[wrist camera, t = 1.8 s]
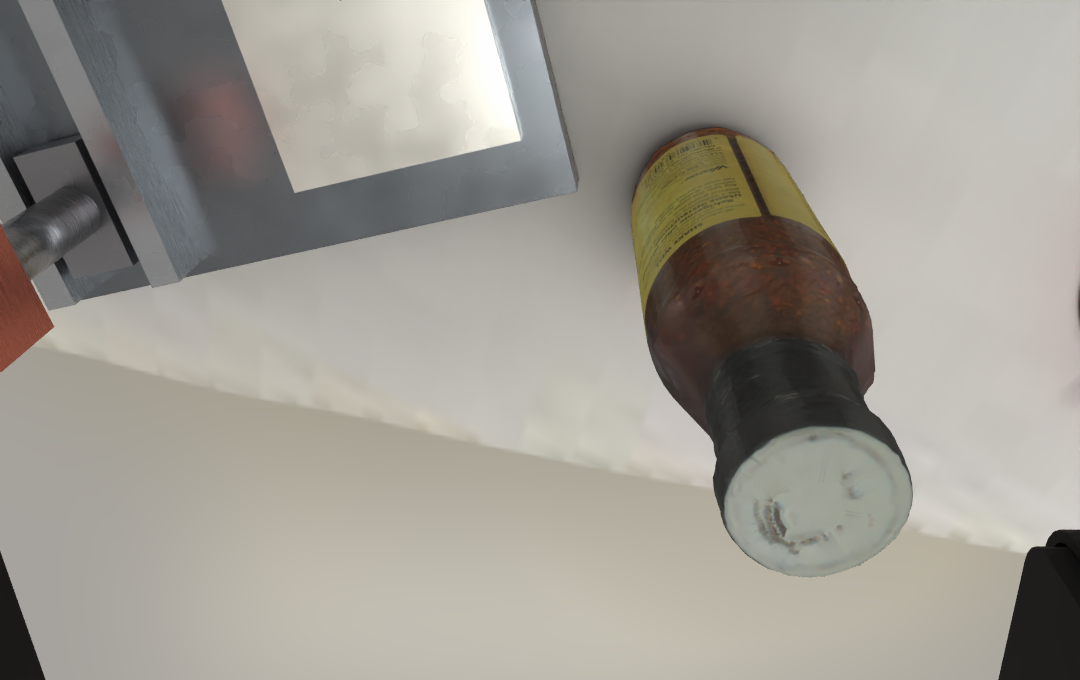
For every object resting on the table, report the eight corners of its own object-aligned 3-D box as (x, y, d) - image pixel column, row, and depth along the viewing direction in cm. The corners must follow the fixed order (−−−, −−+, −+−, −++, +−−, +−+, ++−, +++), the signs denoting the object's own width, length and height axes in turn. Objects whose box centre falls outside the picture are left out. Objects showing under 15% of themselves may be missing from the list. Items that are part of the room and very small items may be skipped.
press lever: (112, 125, 37) (-78, 231, 27) (166, 246, 39) (9, 386, 29) (20, 149, 37) (-199, 261, 27) (78, 266, 39) (-105, 409, 30)
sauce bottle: (618, 259, 39) (614, 596, 22) (646, 108, 37) (667, 356, 19) (777, 284, 39) (902, 641, 22) (817, 134, 37) (999, 407, 19)
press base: (481, -219, 32) (415, -248, 22) (578, 179, 38) (562, 302, 28) (-85, -48, 36) (-364, -5, 26) (84, 288, 42) (-89, 432, 32)
